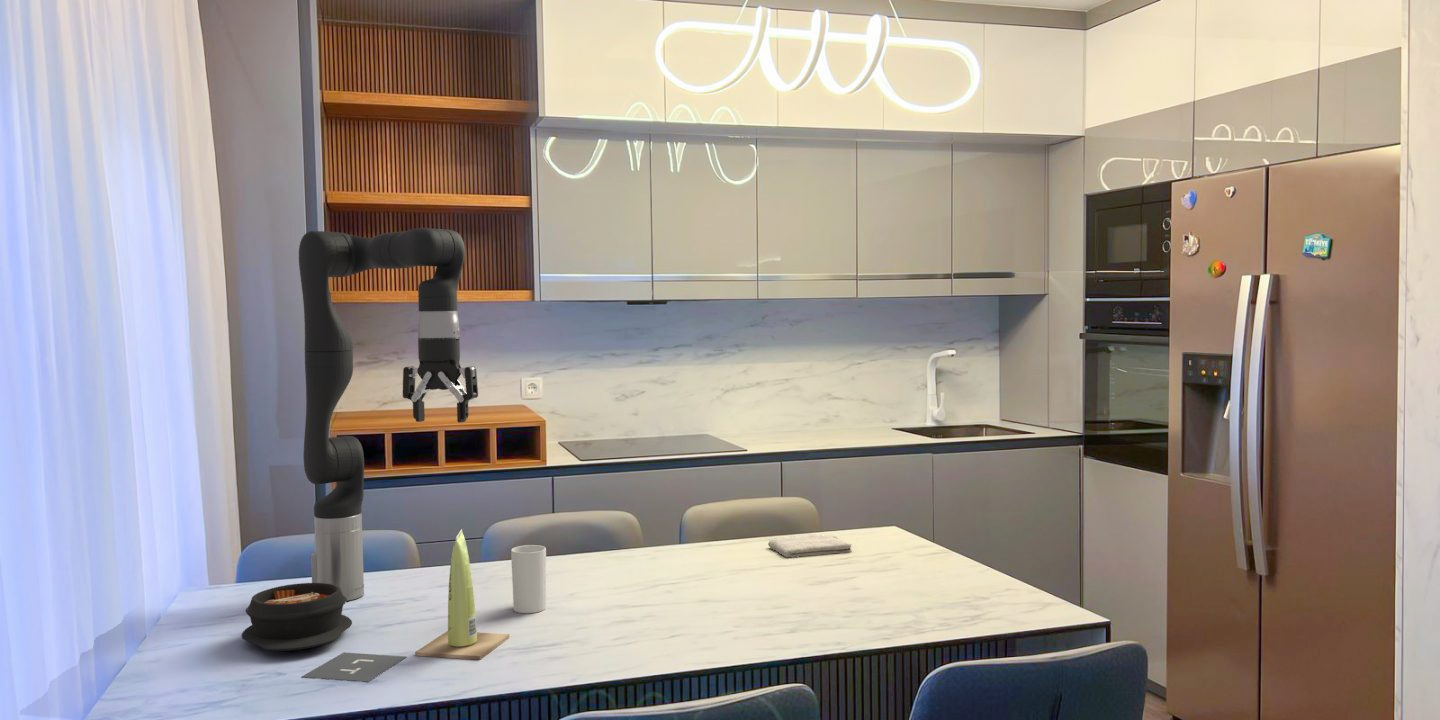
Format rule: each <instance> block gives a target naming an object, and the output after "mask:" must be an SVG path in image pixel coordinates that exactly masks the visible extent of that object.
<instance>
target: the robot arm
mask: <svg viewBox="0 0 1440 720" xmlns="http://www.w3.org/2000/svg"><path fill="white" fill-rule="evenodd" d="M298 247H299V248H298V265H299V266H298V267H299V275H300V283H301V293H302V300H303V301H302V302H303V303H302V304H303V315H304V316H303V318H304V321H303V322H304V373H305V394H306V396H305V401H306V402H305V405H306V406H305V425H304V437H303V440H304V441H303V468H304V473H305V476H306V478H307V480H308V481H309V482H310V484H313V485H324V484H326V485H327V484H332V483H336V485H335V487H334V489H333V490H331V491H330V492H329V493H328V494H327V495H325V496H324V497H321V498H320V499H318V500H317V501H315V503H314V505H313V515H314V519H313V520H314V521H313V522H314V546H315V547H314V548H315V549H314V552H311V555H310V558H311V559H310V561H311V562H310V563H311V564H310V565H311V583H326V584H332V585H336V586H338V587H339V588H340V589H341V592H342V594H343V595H344V596H345V597H346V598H347V601H352V600H357V599H359V598H361V597H362V596H364V594H365V584H364V580H365V579H364V550H363V549H364V547H363V545H364V544H363V517H362V511H363V510H362V506H363V501H364V487H365V486H364V482H365V480H364V478H365V457H364V450H363V446H362V443H361V442H360V441H359V439H358V438H357V437H355V436H353V435H352V436H351V435H344V436H343V435H342V436H331V437H329V436H330V435H329V434H330V425H331V419H332V416H333V414H334V411H335V408H336V407H337V405H338V403H339V401H340V400H341V398H342V396H343V394H345V392H346V390H347V387H348V386H349V383H350V382H351V379H352V377H353V372H354V347H353V346H354V345H353V340H352V337H351V336H350V335H351V334H350V333H349V331H348V329H347V327H346V326H345V324H344V322H343V320H342V319H341V318H340V316H339V314H338V313H337V311H336V309H335V307H334V305H333V301H332V299H331V293H330V286H329V285H330V284H329V278H346V277H350V276H352V275H355V274H360V273H362V272H365V271H368V270H373V269H383V270H391V269H392V270H395V269H411V268H415V267H436V268H435V271H434V275H433V277H432V278H429V279H425V280H423V281H421V282H420V283H419V284H418V291H417V293H418V294H417V295H418V296H417V299H418V302H417V303H418V319H417V343H418V345H417V347H418V348H417V350H418V354H417V355H418V361H419V365H418V367H415V366H412V365H411V366H404V367H403V369H402V398H403V399H408V400H410V401H411V402H412V417H413V419H414V420H415V422H416V423H419V422H420V423H421V422H424V421H425V419H426V418H425V415H426V414H425V401H423V400H424V399H425V398H426V396H427V394H428V393H429V392H430V391H435V390H440V391H447V390H448V391H449V392H450V393H451V394H453V395H454V397H455V399H456V400H457V401H458V402H457V403H456V416H457V417H456V419H457V420H456V421H457V422H458V423H465V422H466V421H467V419H469V402H470V400H474V399H476V398H478V397H479V387H478V377H477V376H478V375H477V374H478V373H477V368H476V366H466V367H461V364H460V360H461V347H460V344H461V343H460V340H461V339H460V332H461V331H460V320H459V314H458V291H457V290H458V286H459V283H460V279H461V274H462V271H463V267H464V261H465V258H466V257H465V256H466V248H465V247H466V246H465V243H464V240H463V238H462V236H461V235H460V233H459V232H457V231H456V230H453V229H443V228H442V229H441V228H431V227H430V228H429V227H421V228H420V227H419V228H413V229H412V228H411V229H409V230H406V231H391V232H384V233H381V234H378V235H375V236H373V237H362V236H358V235H353V234H348V233H345V232H339V231H325V230H324V231H323V230H322V231H321V230H310V231H308V232H306V233H304V234H303V236H302V238H301V240H300V242H299V246H298ZM461 375H462V378H464V380H465V381H464V382H465V387H464V385H463V384H462V383H461V382H460V380H459V378H460V377H461ZM418 376H419V378H420V379H421V381H420V382H419V384H418V385H417V387H416V378H417V377H418ZM347 601H346V602H347Z"/></svg>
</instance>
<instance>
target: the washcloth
mask: <svg viewBox="0 0 1440 720" xmlns="http://www.w3.org/2000/svg"><path fill="white" fill-rule="evenodd" d="M767 545H768V547H769V548H770V549H771V550H772V549H773V551H774V550H776V551H775V552H777V553H778V552H779V553H780V555H781V554H782V555H781V556H783V555H784V556H783V557H784V558H786V557H792V558H798V557H797V556H803V557H808V556H807V555H814V556H822V555H821V554H824V555H831V554H832V553H836V554H845V553H846V552H847V553H853V550H852V543H849V542H847V541H844V540H842V539H841V538H839V537H838V536H835V535H833V534H826V535H822V534H813V533H810V534H807V535H806V534H805V535H797V536H796V535H794V536H793V535H792V536H786V537H778V538H777V537H776V538H772V539H771V540H769V542H768V544H767ZM847 553H846V554H847Z"/></svg>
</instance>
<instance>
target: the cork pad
mask: <svg viewBox="0 0 1440 720" xmlns="http://www.w3.org/2000/svg"><path fill="white" fill-rule="evenodd" d="M509 637H511V636H510V634H509V633H494V632H492V633H491V632H477V641H476V642H475V643H474V644H472V645H468V646H463V647H454V646H451V645H449V644H448V630H447V631H445V632H443V634H442V633H441V635H439V636H438V637H436V638H435V639H432V641H430V642H428V643H427V644H426V645H424V646H422V647H421V648H419V649H418V650H416V651H414V656H416V657H417V656H419V657H435V658H447V659H448V658H449V659H464V660H465V659H466V660H477V661H478V660H479V661H480V660H481V659H482V660H483V658H484V657H486V656H487V655H489V654H490V653H491V652H493V651H494V650H495V649H497V647H499V646H500V645H502V644H503V643H504V642H505V640H506V641H507V640H508V639H510V638H509ZM493 649H494V650H493Z"/></svg>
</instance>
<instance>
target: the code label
mask: <svg viewBox="0 0 1440 720" xmlns="http://www.w3.org/2000/svg"><path fill="white" fill-rule="evenodd" d="M405 659H408V656H404V655H389V654H388V655H387V654H374V653H373V654H372V653H360V652H359V653H357V652H342V653H340V654H339V655H337V656H335V657H333V658H332V659H331V658H330V660H328V661H326V662H324V663H323V664H321V665H319V666H318V667H316V668H314V669H312V670H310V671H309V672H307V673H304V675H302V676H301V677H300V678H303V679H315V678H321V679H320V680H329V679H335V680H334V681H343V680H347V681H348V682H357V681H362V682H361V683H370V682H372V681H373V680H374V679H376V678H377V677H379V676H381V675H382V674H384V673H385V672H387V671H388V670H390V669H391V668H393V667H395V665H398V664H399V663H400V662H402V661H403V660H405ZM392 666H393V667H392ZM389 668H390V669H389ZM386 670H387V671H386ZM383 672H384V673H383ZM380 674H381V675H380ZM378 675H379V676H378ZM375 677H376V678H375ZM347 681H346V682H347Z"/></svg>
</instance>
